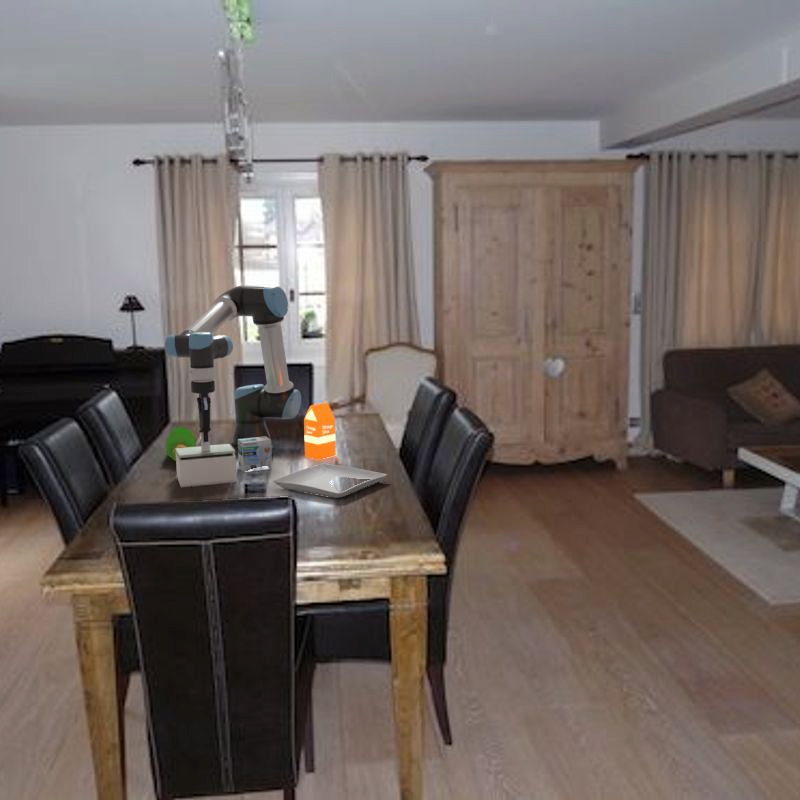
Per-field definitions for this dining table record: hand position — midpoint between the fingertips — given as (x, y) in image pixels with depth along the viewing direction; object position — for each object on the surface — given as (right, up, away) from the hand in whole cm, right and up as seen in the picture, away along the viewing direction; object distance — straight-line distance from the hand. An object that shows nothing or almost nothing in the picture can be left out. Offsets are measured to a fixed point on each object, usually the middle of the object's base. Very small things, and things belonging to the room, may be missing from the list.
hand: (205, 450), depth 267 cm
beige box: (-1, -10, +6) cm, 11 cm away
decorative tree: (-18, -5, +38) cm, 42 cm away
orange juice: (+34, -5, +36) cm, 50 cm away
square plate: (+41, -12, -3) cm, 43 cm away
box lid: (-1, -1, +4) cm, 4 cm away
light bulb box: (+13, -8, +19) cm, 24 cm away
